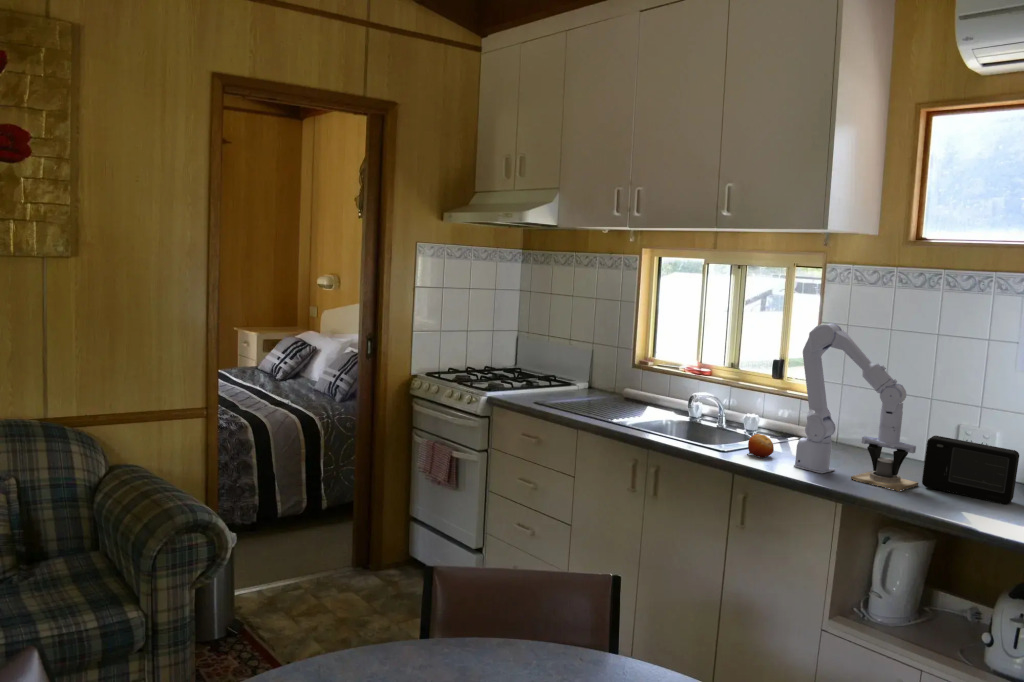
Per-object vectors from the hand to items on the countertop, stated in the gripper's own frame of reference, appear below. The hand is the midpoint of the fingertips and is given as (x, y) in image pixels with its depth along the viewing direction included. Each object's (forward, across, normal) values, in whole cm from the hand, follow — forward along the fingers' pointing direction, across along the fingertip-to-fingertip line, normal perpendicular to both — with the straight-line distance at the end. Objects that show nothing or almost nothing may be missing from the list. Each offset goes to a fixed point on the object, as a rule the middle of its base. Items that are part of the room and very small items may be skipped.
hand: (885, 472), depth 244 cm
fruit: (+3, -38, -2) cm, 38 cm away
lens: (+2, 0, 0) cm, 2 cm away
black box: (+3, +20, +9) cm, 22 cm away
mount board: (+3, 0, 0) cm, 3 cm away
